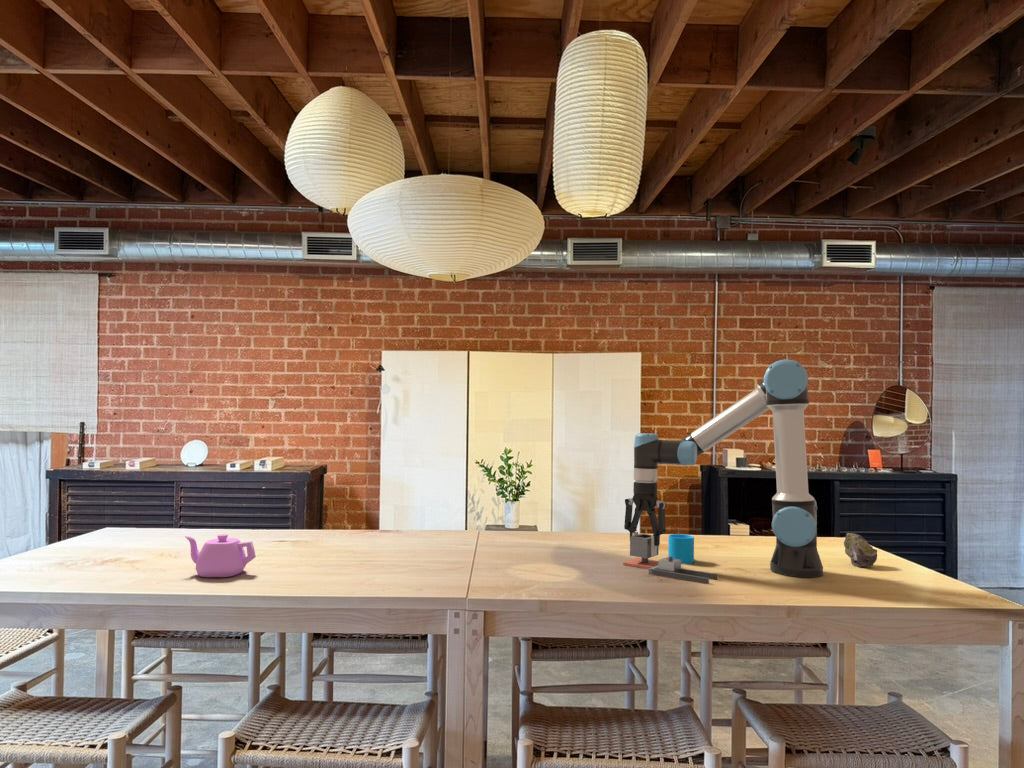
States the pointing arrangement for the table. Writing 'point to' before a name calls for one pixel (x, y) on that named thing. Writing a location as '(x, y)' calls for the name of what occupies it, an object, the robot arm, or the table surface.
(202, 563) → the teapot
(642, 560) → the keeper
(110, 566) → the table surface
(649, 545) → the grey hollow block
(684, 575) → the track
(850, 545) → the rock
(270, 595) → the table surface
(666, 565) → the grey knobbed block
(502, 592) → the table surface
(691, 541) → the mug
